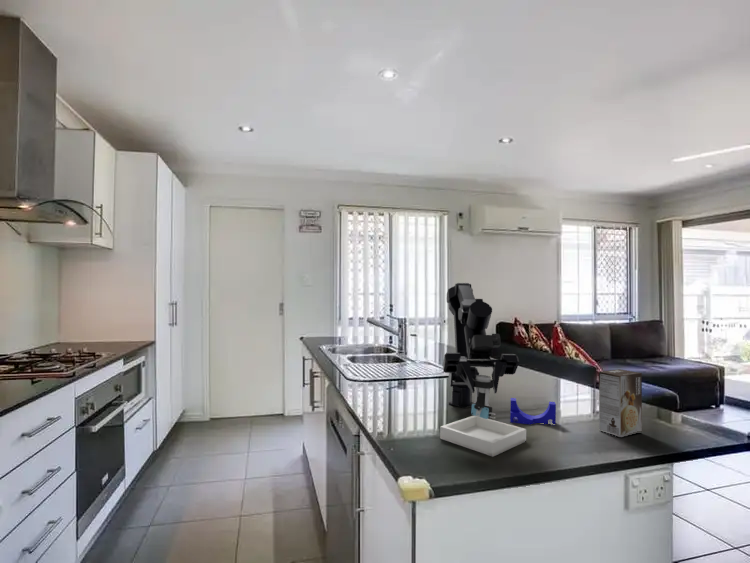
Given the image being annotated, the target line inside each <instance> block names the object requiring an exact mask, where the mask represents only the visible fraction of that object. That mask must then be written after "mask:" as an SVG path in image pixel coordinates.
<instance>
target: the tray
mask: <svg viewBox="0 0 750 563" xmlns="http://www.w3.org/2000/svg"><path fill="white" fill-rule="evenodd" d="M439 428H440V429H439V430H440V431H439V433H440V434H439V438H440V440H443V441H447V442H449V443H452V444H455V445H458V446H461V447H463V448H467V449H469V450H473V451H476V452H478V453H481V454H483V455H487V456H490V457H492V458H493V457H495V456H497V455H500V454H502V453H503V452H506V451H509V450H511V449H512V448H514V447H517V446H519V445H521V444H523V443H526V442H527V428H523V427H520V426H516V425H513V424H510V423H505V422H502V421H497V420H495V419H491V418H488V419H484V418H481V417H477V416H475V415H471V416H468V417H466V418H465V417H464V418H462V419H459V420H455V421H453V422H450V423H447V424H444V425H441V426H440V427H439ZM525 441H526V442H525Z"/></svg>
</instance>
